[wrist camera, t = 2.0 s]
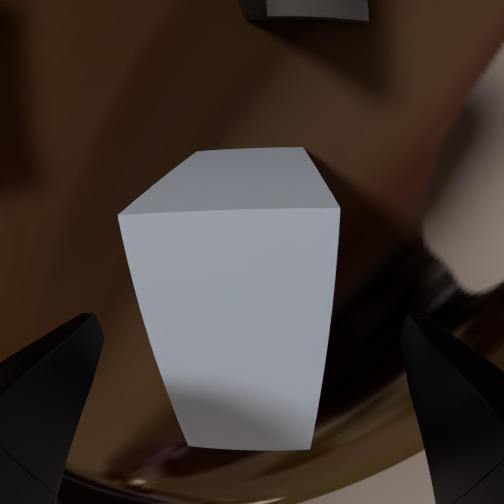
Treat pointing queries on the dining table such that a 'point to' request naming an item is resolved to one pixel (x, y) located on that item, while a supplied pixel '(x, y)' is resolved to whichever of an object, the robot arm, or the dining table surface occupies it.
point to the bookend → (306, 10)
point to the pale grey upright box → (238, 292)
